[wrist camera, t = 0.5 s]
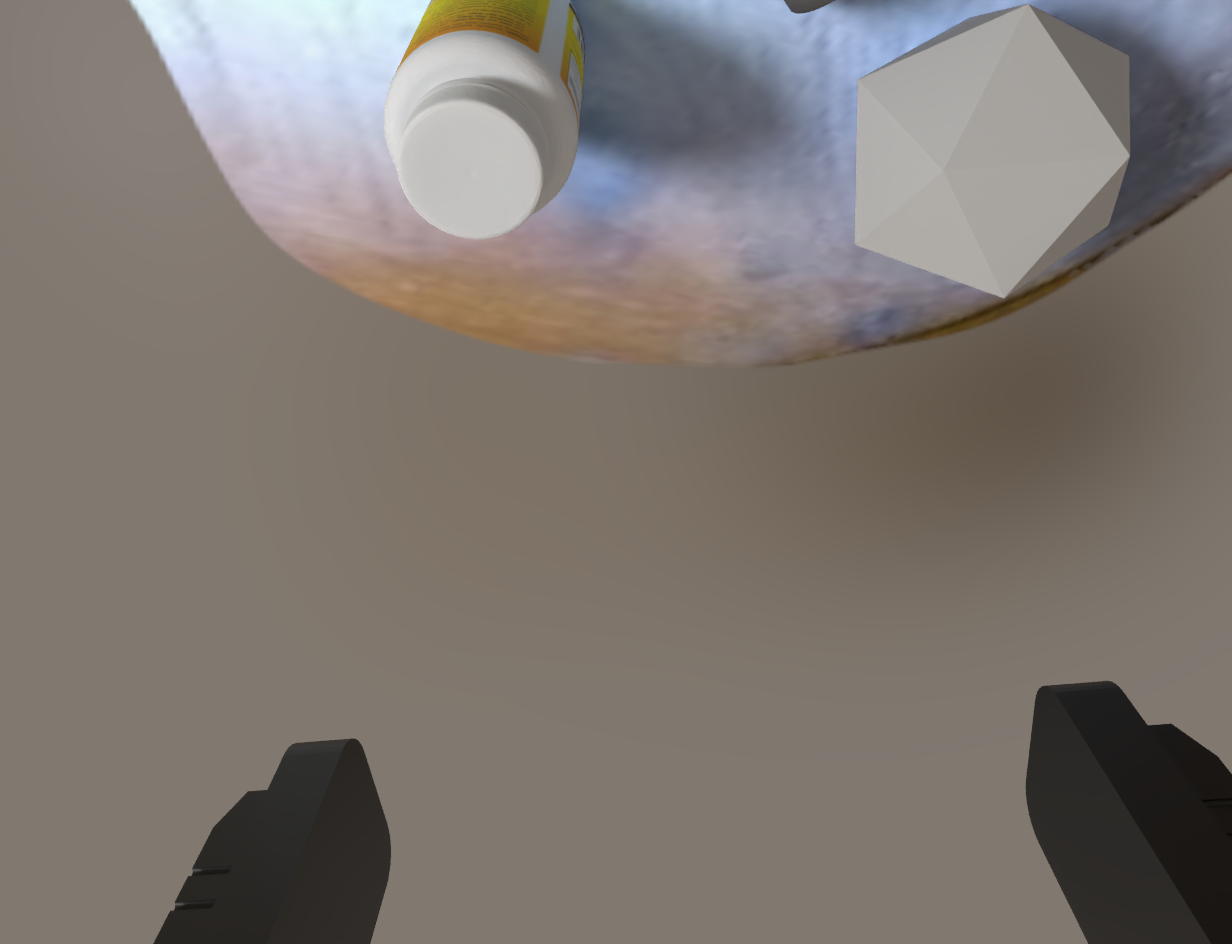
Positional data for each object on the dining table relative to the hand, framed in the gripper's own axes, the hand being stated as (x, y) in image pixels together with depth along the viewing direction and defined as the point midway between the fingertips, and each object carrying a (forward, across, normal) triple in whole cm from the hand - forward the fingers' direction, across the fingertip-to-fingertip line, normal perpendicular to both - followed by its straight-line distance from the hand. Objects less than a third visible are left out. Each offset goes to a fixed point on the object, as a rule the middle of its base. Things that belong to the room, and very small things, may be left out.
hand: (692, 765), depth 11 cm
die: (+28, -12, -4) cm, 30 cm away
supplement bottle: (+27, +4, -8) cm, 28 cm away
